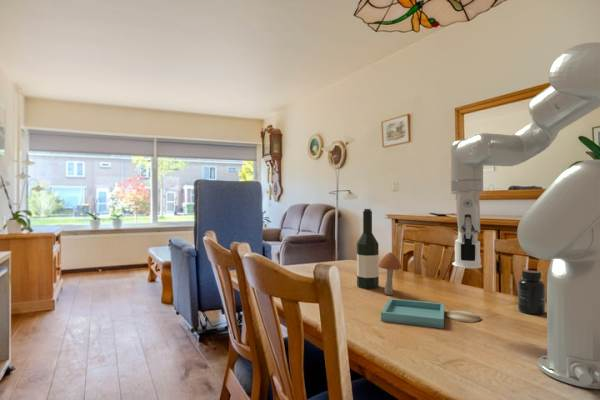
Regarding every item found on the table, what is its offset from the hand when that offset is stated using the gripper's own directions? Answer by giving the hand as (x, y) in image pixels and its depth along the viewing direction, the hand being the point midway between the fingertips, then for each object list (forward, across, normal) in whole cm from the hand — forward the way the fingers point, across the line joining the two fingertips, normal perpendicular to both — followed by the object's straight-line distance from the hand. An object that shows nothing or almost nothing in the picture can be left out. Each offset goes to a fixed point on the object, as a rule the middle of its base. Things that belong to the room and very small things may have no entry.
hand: (467, 257), depth 95 cm
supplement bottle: (+19, +24, -18) cm, 35 cm away
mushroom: (+18, +29, +24) cm, 42 cm away
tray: (+18, +7, +14) cm, 24 cm away
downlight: (+2, 0, 0) cm, 2 cm away
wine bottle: (+18, +39, +34) cm, 55 cm away
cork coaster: (+18, +11, +1) cm, 21 cm away
